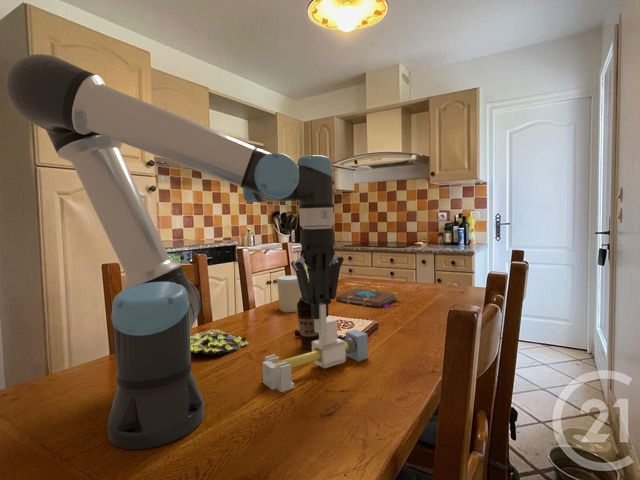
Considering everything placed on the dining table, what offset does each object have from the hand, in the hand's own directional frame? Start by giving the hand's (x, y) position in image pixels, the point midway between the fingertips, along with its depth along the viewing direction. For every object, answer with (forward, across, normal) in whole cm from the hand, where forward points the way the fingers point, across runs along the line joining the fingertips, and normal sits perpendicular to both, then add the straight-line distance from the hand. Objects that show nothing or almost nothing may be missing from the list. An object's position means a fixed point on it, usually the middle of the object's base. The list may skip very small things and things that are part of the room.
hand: (320, 332), depth 82 cm
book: (+10, +52, +39) cm, 66 cm away
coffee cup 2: (+9, +7, +14) cm, 18 cm away
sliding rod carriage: (+8, +2, 0) cm, 8 cm away
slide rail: (+9, -1, 0) cm, 9 cm away
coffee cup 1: (+9, +21, +50) cm, 55 cm away
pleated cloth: (+9, -16, +32) cm, 37 cm away
